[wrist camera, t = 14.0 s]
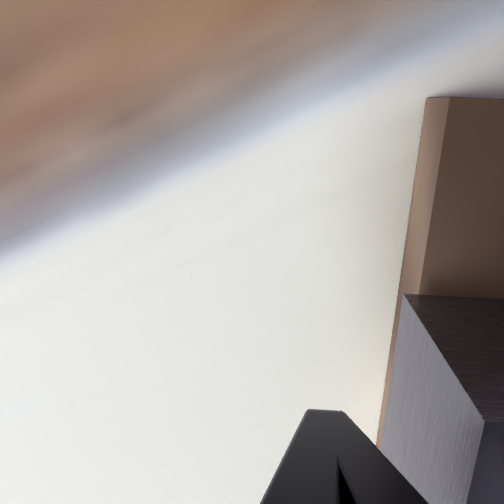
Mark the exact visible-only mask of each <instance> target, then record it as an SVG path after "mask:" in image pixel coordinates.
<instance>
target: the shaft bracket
mask: <svg viewBox="0 0 504 504" xmlns="http://www.w3.org/2000/svg"><path fill="white" fill-rule="evenodd" d="M403 294H419V295H437V296H454V297H472V298H489V299H504V99H488V98H462V97H433V98H426V103H425V110H424V117H423V124H422V131H421V138H420V145H419V152H418V159H417V166H416V173H415V180H414V187H413V193H412V200H411V207H410V214H409V221H408V228H407V235H406V242H405V249H404V256H403V263H402V270H401V277H400V283H399V290H398V297H397V304H396V311H395V318H394V325H393V332H392V339H391V346H390V353H389V360H388V367H387V373H386V380H385V387H384V394H383V401H382V408H381V415H380V422H379V429H378V436H377V443H376V447H377V448H378V449H379V450H380V446H381V440H382V433H383V426H384V419H385V413H386V406H387V399H388V392H389V385H390V379H391V372H392V365H393V358H394V352H395V345H396V338H397V331H398V325H399V318H400V311H401V304H402V298H403Z"/></svg>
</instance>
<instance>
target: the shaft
mask: <svg viewBox="0 0 504 504" xmlns="http://www.w3.org/2000/svg"><path fill="white" fill-rule="evenodd" d="M380 451H381V452H382V453H383V454H384V456H385V457H386V458H387V459H388V460H389V461H390V462H391V463H392V464H393V465H394V466H395V467H396V468H397V470H398V471H399V472H400V473H401V474H402V475H403V476H404V477H405V478H406V479H407V480H408V481H409V482H410V484H411V485H412V486H413V487H414V488H415V489H416V490H417V491H418V492H419V493H420V494H421V495H422V496H423V498H424V499H425V500H426V501H427V502H428V503H429V504H504V299H489V298H472V297H454V296H437V295H419V294H403V298H402V304H401V311H400V318H399V325H398V331H397V338H396V345H395V352H394V358H393V365H392V372H391V379H390V385H389V392H388V399H387V406H386V413H385V419H384V426H383V433H382V440H381V446H380Z"/></svg>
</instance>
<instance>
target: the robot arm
mask: <svg viewBox="0 0 504 504" xmlns="http://www.w3.org/2000/svg"><path fill="white" fill-rule="evenodd" d="M260 504H429V503H428V502H427V501H426V500H425V499H424V498H423V496H422V495H421V494H420V493H419V492H418V491H417V490H416V489H415V488H414V487H413V486H412V485H411V484H410V482H409V481H408V480H407V479H406V478H405V477H404V476H403V475H402V474H401V473H400V472H399V471H398V470H397V468H396V467H395V466H394V465H393V464H392V463H391V462H390V461H389V460H388V459H387V458H386V457H385V456H384V454H383V453H382V452H381V451H380V450H379V449H378V448H377V447H376V446H375V445H374V444H373V443H372V441H371V440H370V439H369V438H368V437H367V436H366V435H365V434H364V433H363V432H362V431H361V430H360V429H359V427H358V426H357V425H356V424H355V423H354V422H353V421H352V420H351V419H350V418H349V417H348V416H347V415H346V413H344V412H343V411H334V410H318V409H308V410H307V411H306V412H305V414H304V416H303V418H302V420H301V422H300V424H299V426H298V428H297V430H296V432H295V434H294V436H293V438H292V440H291V442H290V444H289V446H288V448H287V450H286V452H285V454H284V456H283V458H282V460H281V462H280V464H279V466H278V468H277V470H276V472H275V474H274V476H273V478H272V480H271V482H270V484H269V486H268V488H267V490H266V492H265V494H264V496H263V498H262V500H261V502H260Z"/></svg>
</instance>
